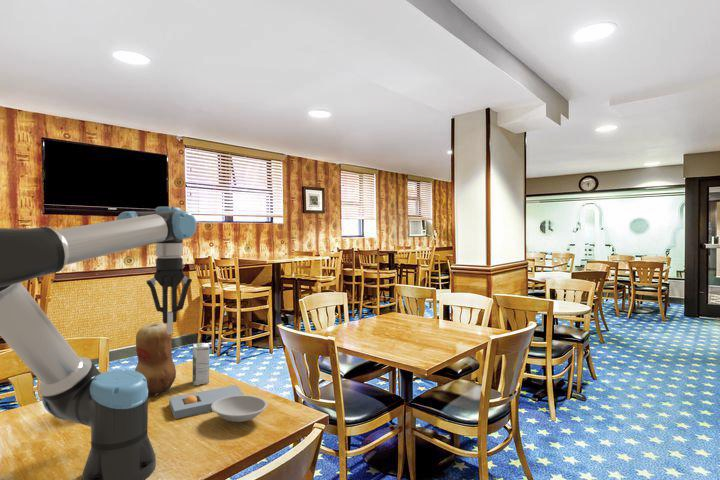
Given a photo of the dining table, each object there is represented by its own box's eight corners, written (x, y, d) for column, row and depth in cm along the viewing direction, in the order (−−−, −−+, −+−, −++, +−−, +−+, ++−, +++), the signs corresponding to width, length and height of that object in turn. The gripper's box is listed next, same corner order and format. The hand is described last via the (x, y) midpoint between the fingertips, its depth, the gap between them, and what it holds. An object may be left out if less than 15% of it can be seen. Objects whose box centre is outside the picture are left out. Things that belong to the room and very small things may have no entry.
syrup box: (192, 381, 158) (192, 343, 158) (208, 378, 161) (208, 342, 160) (193, 386, 153) (192, 347, 153) (209, 383, 155) (209, 345, 155)
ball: (197, 409, 133) (199, 397, 134) (184, 410, 131) (186, 398, 132) (194, 405, 137) (196, 393, 137) (182, 406, 135) (184, 393, 135)
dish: (277, 415, 129) (277, 399, 129) (250, 436, 116) (250, 419, 115) (230, 407, 135) (230, 392, 135) (199, 426, 122) (199, 409, 121)
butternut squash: (124, 398, 141) (123, 326, 141) (154, 384, 154) (153, 318, 154) (156, 403, 137) (156, 329, 137) (184, 389, 150) (184, 321, 150)
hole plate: (245, 403, 138) (245, 396, 138) (174, 419, 126) (174, 411, 126) (235, 391, 148) (235, 384, 148) (169, 405, 136) (169, 397, 136)
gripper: (189, 255, 133) (190, 328, 133) (144, 256, 126) (145, 333, 126) (194, 257, 127) (194, 333, 127) (146, 258, 120) (147, 338, 120)
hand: (169, 333), depth 127 cm, fingers closed
